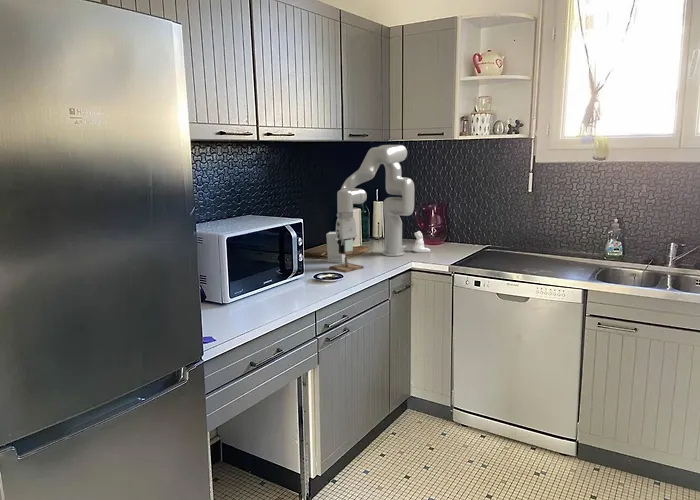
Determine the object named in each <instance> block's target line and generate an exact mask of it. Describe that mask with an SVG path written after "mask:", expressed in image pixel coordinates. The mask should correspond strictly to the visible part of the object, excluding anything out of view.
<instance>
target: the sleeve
mask: <svg viewBox="0 0 700 500" xmlns="http://www.w3.org/2000/svg"><path fill="white" fill-rule="evenodd" d="M343 245H344V253H339V254H344V255H345V256H346V255H351V254H354V241H353V239H344V243H343ZM338 246H339V245H338Z"/></svg>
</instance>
